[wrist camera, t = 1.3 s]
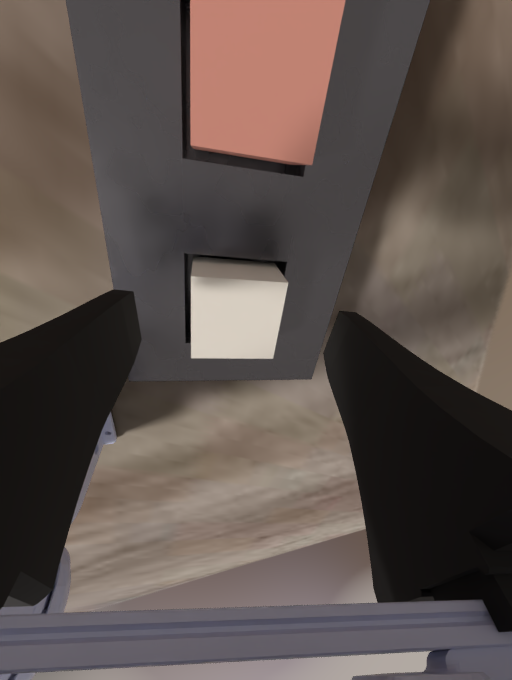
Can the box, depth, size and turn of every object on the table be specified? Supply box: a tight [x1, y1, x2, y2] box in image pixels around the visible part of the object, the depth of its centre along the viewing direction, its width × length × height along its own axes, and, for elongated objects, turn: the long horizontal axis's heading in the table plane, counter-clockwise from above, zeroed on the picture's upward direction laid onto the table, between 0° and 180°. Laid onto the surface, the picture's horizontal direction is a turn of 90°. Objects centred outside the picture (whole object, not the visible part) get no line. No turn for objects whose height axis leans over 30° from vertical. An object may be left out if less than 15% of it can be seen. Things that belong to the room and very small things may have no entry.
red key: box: [190, 0, 345, 165], centre depth 10 cm, size 4×4×3 cm
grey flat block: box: [66, 0, 430, 381], centre depth 14 cm, size 20×12×4 cm, turn 173°
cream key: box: [191, 256, 288, 359], centre depth 14 cm, size 4×4×3 cm
